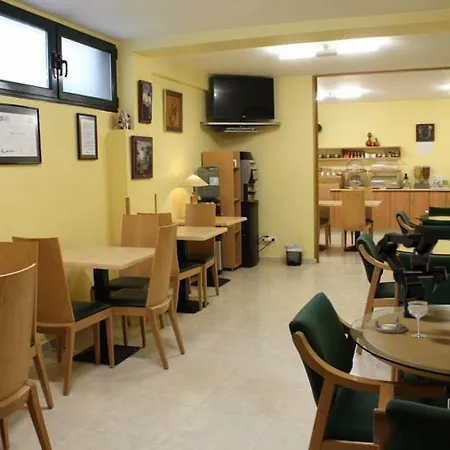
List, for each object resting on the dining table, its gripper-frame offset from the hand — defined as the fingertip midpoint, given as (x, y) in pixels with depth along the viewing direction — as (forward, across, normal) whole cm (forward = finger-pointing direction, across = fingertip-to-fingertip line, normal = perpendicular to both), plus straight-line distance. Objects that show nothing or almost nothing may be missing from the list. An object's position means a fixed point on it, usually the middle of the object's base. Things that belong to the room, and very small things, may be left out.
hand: (419, 292), depth 207 cm
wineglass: (+15, 0, +6) cm, 16 cm away
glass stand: (+10, -11, +9) cm, 18 cm away
